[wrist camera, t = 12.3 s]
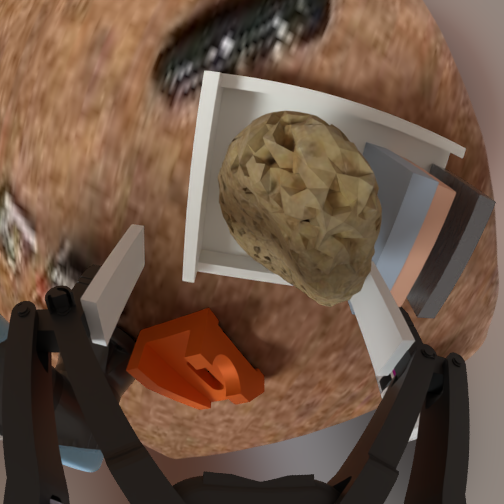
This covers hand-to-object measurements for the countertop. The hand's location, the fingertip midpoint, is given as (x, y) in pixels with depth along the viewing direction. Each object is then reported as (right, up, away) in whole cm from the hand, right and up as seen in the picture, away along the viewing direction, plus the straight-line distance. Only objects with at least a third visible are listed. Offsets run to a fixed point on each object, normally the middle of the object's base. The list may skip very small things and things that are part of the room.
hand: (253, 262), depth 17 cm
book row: (+12, +6, +12) cm, 18 cm away
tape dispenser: (-8, -16, +28) cm, 33 cm away
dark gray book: (+19, +4, +12) cm, 23 cm away
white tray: (+7, +7, +13) cm, 16 cm away
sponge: (0, +8, +11) cm, 14 cm away
